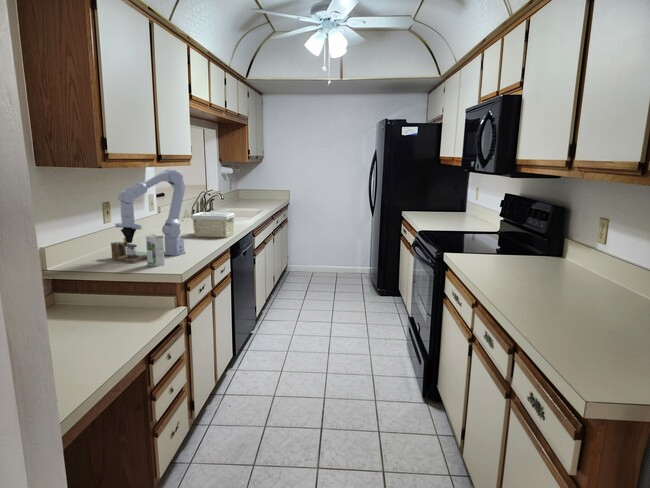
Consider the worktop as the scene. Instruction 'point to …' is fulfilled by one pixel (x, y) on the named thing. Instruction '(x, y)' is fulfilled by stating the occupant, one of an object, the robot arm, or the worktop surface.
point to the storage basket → (213, 224)
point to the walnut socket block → (124, 254)
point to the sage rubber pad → (141, 253)
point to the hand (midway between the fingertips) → (129, 242)
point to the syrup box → (155, 250)
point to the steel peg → (131, 252)
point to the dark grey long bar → (125, 244)
